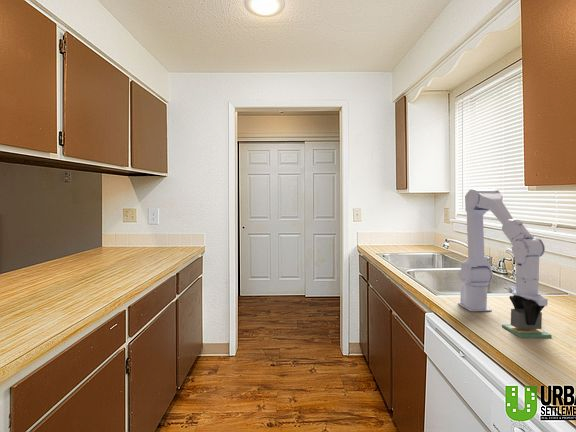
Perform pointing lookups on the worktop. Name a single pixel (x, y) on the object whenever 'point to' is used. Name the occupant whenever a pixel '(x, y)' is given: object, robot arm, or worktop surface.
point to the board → (527, 332)
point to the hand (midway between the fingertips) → (526, 322)
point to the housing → (523, 320)
